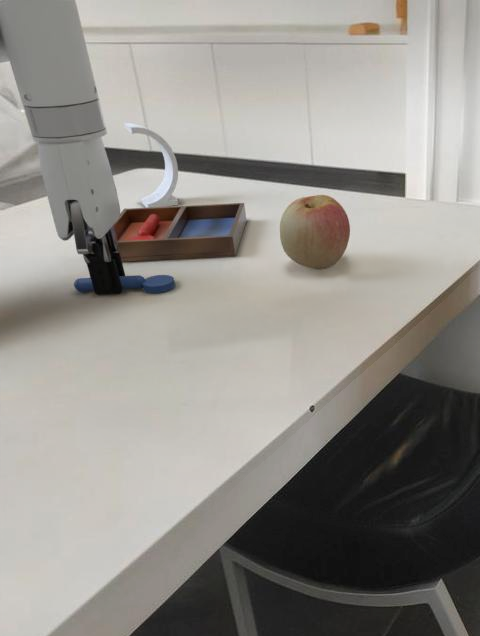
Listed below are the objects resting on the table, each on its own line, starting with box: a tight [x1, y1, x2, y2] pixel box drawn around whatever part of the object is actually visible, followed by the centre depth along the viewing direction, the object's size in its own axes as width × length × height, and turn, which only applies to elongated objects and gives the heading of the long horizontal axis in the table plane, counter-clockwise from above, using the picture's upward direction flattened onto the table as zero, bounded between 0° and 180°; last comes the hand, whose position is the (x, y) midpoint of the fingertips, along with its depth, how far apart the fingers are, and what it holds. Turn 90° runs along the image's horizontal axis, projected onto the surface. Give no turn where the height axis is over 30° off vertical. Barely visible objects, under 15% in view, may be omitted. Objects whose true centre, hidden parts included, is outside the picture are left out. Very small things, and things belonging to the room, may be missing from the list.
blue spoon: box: [73, 274, 176, 294], centre depth 83 cm, size 4×12×2 cm, turn 92°
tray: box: [114, 202, 247, 263], centre depth 97 cm, size 18×16×3 cm
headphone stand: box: [123, 122, 180, 208], centre depth 110 cm, size 5×6×12 cm
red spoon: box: [126, 214, 160, 241], centre depth 96 cm, size 4×12×2 cm, turn 2°
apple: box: [279, 194, 351, 270], centre depth 85 cm, size 9×9×8 cm
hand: (111, 288), depth 83 cm, fingers closed on blue spoon, 1 cm apart
